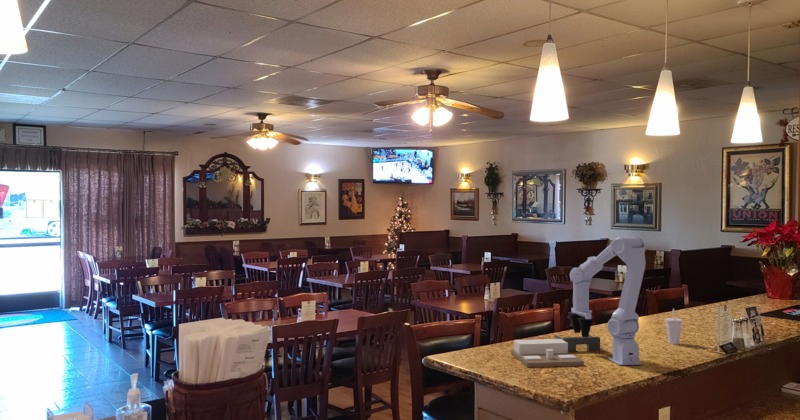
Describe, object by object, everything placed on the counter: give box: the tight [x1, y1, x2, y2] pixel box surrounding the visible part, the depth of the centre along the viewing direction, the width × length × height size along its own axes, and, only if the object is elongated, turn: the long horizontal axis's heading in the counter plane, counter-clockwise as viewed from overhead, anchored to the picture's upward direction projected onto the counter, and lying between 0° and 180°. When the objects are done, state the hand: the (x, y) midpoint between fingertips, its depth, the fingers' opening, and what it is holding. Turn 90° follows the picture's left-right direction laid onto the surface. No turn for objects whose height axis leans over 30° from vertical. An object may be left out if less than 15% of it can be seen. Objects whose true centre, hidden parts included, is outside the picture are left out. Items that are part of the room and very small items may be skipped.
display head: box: [510, 338, 585, 368], centre depth 216 cm, size 20×20×5 cm
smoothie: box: [664, 308, 683, 346], centre depth 240 cm, size 6×6×14 cm
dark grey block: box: [553, 334, 601, 353], centre depth 234 cm, size 11×14×5 cm
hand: (581, 334), depth 230 cm, fingers open, 7 cm apart
